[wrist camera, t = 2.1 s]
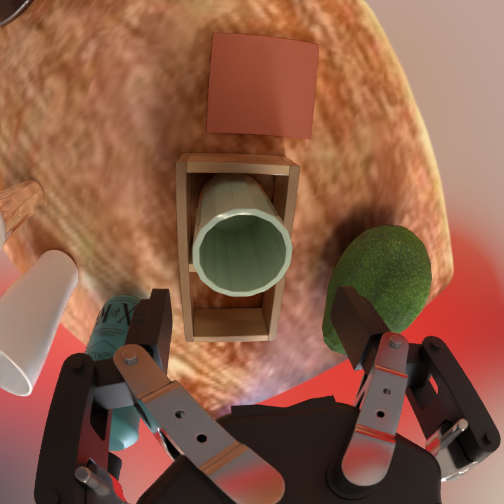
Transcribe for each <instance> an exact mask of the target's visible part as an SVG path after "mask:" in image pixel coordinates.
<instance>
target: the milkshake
mask: <svg viewBox="0 0 504 504" xmlns="http://www.w3.org/2000/svg"><path fill="white" fill-rule="evenodd" d="M42 201H43V191H42V188H41V187H40V185H39V184H38V182H36V181H33V180H27V181H24V182H22V183H20V184H17V185H15V186H13V187H10V188H8V189H6V190H3V191H1V192H0V249H1V248H2V247H3V246H4V244H5V243H6V242H7V241H8V240H9V238H10V237H11V236H12V235H13V234H14V233H15V232H16V230H17V229H18V228H19V227H20V226H21V225H22V224H23V223H24V222H25V221H26V220H27V219H28V218H29V217H30V216H31V215H32V214H33V213H34V212H35V211H36V210H38V209H39V208H40V206H41V204H42Z"/></svg>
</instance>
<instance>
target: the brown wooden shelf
mask: <svg viewBox="0 0 504 504" xmlns="http://www.w3.org/2000/svg"><path fill="white" fill-rule="evenodd" d="M191 173H245V174H269V175H276V177H275V188H274V198H273V206H274V208H275V210H276V211H277V213H278V215H279V216H280V218H281V220H282V222H283V223H284V225H285V227H286V228H287V230H288V233H289V236H290V239H291V236H292V228H293V221H294V213H295V205H296V198H297V189H298V181H299V173H300V166H299V165H297V164H296V163H295V162H293V161H292V160H290V159H289V158H288V157H286V156H274V155H256V154H232V153H182V154H181V156H180V157H179V159H178V160H177V162H176V216H177V241H178V259H179V274H180V288H181V300H182V311H183V321H184V331H185V340H186V342H193V341H194V342H238V341H263V340H275V339H276V333H277V327H278V321H279V315H280V309H281V303H282V297H283V290H284V284H285V277H286V272H285V274H284V275H283V277H282V279H281V280H279V281H278V282H277V283H276V284H274V285H273V286H272V287H270V288H269V289H268V290H266V291H264V293H263V302H262V308H228V309H194V295H193V275H192V272H197V271H196V269H195V267H194V265H193V249H192V247H193V240H192V241H191ZM286 271H287V270H286Z"/></svg>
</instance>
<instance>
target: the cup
mask: <svg viewBox="0 0 504 504" xmlns="http://www.w3.org/2000/svg"><path fill="white" fill-rule="evenodd" d="M192 249H193V265H194V267H195V269H196V271H197V273H198V275H199V277H200V279H201V280H202V281H203V282H204V283H205V284H207V285H208V286H209V287H210V288H212V289H213V290H214V291H216V292H219V293H222V294H225V295H228V296H252V295H255V294H258V293H260V292H263V291H266V290H268V289H269V288H270V287H272V286H273V285H274V284H276V283H277V282H278V281H279V280H281V279H282V277H283V275H284V274H285V272H286V270H287V269H288V267H289V265H290V263H291V256H292V249H293V246H292V243H291V239H290V236H289V233H288V230H287V228H286V227H285V225H284V223H283V222H282V220H281V218H280V216H279V215H278V213H277V211H276V210H275V208H274V206H273V205H272V203H271V201H270V199H269V198H268V196H267V194H266V193H265V191H264V189H263V188H262V186H261V185H260V184H259V183H258V182H257V181H256V180H255V179H254V178H253V177H252V176H250V175H248V174H245V173H219V174H217V175H215V176H214V177H212V178H211V179H210V180H209V181H208V182H207V183H206V184H205V186H204V187H203V189H202V191H201V194H200V197H199V201H198V208H197V215H196V223H195V231H194V239H193V247H192Z"/></svg>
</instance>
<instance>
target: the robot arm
mask: <svg viewBox="0 0 504 504" xmlns="http://www.w3.org/2000/svg"><path fill="white" fill-rule="evenodd" d="M32 1H33V0H0V27H2V26H4V25H6V24H8V23H10V22H11V21H13V20H14V19H15V18H17V17H18V16H19V15H20V14H21V13H22V12H23V11H24V10H25V9H26V8H27V7H28V6H29V5H30V4H31V2H32ZM330 319H331V323H332V325H333V327H334V329H335V331H336V333H337V335H338V337H339V339H340V342H341V344H342V346H343V348H344V350H345V352H346V354H347V356H348V358H349V360H350V362H351V364H352V366H353V369H354V371H356V370H361V369H364V372H365V373H364V375H363V377H362V379H361V382H360V385H359V388H358V390H357V393H356V396H355V399H354V401H353V404H352V406H351V405H348V404H344V403H339V402H335V399H334V396H333V395H332V396H326V397H321V398H313V399H309V400H306V401H303V402H301V403H298V404H295V405H292V406H290V407H285V408H284V407H283V408H282V407H273V406H265V405H258V404H257V405H240V406H231V413H229V414H226V415H223V416H220V417H218V418H216V419H213V418H212V417H211V416H210V415H209V414H208V413H207V412H206V411H205V410H204V409H203V408H202V407H201V405H200V404H199V403H198V402H197V401H196V400H195V399H194V398H193V397H192V396H191V395H190V394H189V393H188V392H187V391H186V390H185V388H184V387H183V386H182V385H181V384H180V383H179V382H178V381H176V380H174V381H171V380H170V379H169V378H168V377H167V368H168V359H169V350H170V342H171V334H172V323H173V322H172V309H171V301H170V292H169V289H152V293H151V296H150V299H142V300H141V301H140V302H139V303H138V304H137V305H136V306H135V309H134V312H133V316H132V319H131V322H130V325H129V329H128V332H127V336H126V339H125V343H124V346H122V347H120V348H119V349H118V350H117V351H116V352H115V354H114V356H113V357H111V358H107V359H102V360H97V361H93V359H92V358H91V356H89V355H87V354H85V353H76V354H73V355H71V356H69V357H68V358H67V359H66V360H65V361H64V363H63V365H62V368H61V372H60V375H59V378H58V381H57V385H56V388H55V392H54V395H53V398H52V402H51V406H50V410H49V414H48V417H47V421H46V426H45V430H44V435H43V440H42V445H41V449H40V455H39V460H38V467H37V473H36V480H35V489H34V499H35V502H36V504H129V503H127V501H126V500H125V498H124V495H123V490H122V487H121V485H120V483H119V482H118V481H117V480H116V479H115V478H114V477H113V476H112V475H111V474H110V473H109V472H107V467H108V452H109V440H110V430H111V421H112V412H113V409H114V408H119V407H124V406H129V405H133V407H134V408H135V410H136V411H137V413H138V414H139V415H140V417H141V418H142V420H143V421H144V422H145V424H146V425H147V426H148V428H149V429H150V430H151V432H152V433H153V435H154V436H155V437H156V439H157V440H158V442H159V444H160V445H161V446H162V448H163V449H164V450H165V452H166V453H167V454H168V455H169V457H170V458H171V459H172V460H173V461H174V462H173V463H172V464H171V465H170V466H169V467H168V468H167V470H166V471H165V472H164V473H163V474H162V475H161V476H160V477H159V478H158V479H157V480H156V481H155V483H153V484H152V485H151V486H150V487H149V488H148V489H147V490H146V491H145V492H144V494H143V495H142V496H141V497H140V498H139V500H138V501H137V503H136V504H442V502H441V495H440V494H441V493H440V490H441V482H442V481H444V480H447V481H454V480H456V479H458V478H459V477H461V476H462V475H464V474H465V473H466V472H468V471H469V470H471V469H472V468H473V467H475V466H476V465H478V464H479V463H480V462H481V461H483V460H484V459H485V458H487V457H488V456H489V455H490V454H492V453H493V452H494V451H495V450H496V449H497V448H498V447H499V445H500V440H501V439H500V434H499V431H498V430H497V428H496V426H495V424H494V422H493V420H492V418H491V417H490V415H489V413H488V411H487V409H486V408H485V406H484V404H483V402H482V401H481V399H480V397H479V395H478V394H477V392H476V390H475V389H474V387H473V385H472V384H471V382H470V381H469V379H468V377H467V376H466V374H465V373H464V371H463V370H462V368H461V367H460V365H459V363H458V362H457V360H456V359H455V357H454V356H453V355H452V353H451V351H450V350H449V348H448V347H447V346H446V344H445V343H444V342H443V341H442V340H441V339H439V338H437V337H434V336H428V337H426V338H425V339H424V340H423V342H422V344H414V343H408V341H407V340H406V338H405V337H404V336H402V335H401V334H399V333H396V332H391V331H390V329H389V328H388V326H387V325H386V323H385V322H384V321H383V319H382V318H381V316H380V315H378V312H377V310H376V309H375V307H374V306H373V305H372V303H371V302H370V301H369V300H368V299H367V298H365V297H364V296H363V295H359V293H358V292H357V290H356V289H355V288H354V286H340V287H338V288H337V290H336V293H335V297H334V301H333V304H332V308H331V312H330ZM431 376H432V377H433V378H434V380H435V382H436V384H437V386H438V394H436V392H435V390H434V388H433V386H432V385H431V383H430V381H429V379H430V378H431ZM405 394H406V396H407V398H408V400H409V402H410V404H411V406H412V409H413V411H414V413H415V415H416V417H417V420H418V422H419V424H420V426H421V429H422V431H423V433H424V436H425V438H426V440H427V442H426V446H425V447H426V450H425V449H423V448H422V447H420V446H418V445H417V444H415V443H413V442H411V441H410V440H408V439H406V438H405V437H403V436H401V435H400V434H398V433H396V431H397V427H398V423H399V419H400V414H401V410H402V405H403V401H404V396H405Z"/></svg>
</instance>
